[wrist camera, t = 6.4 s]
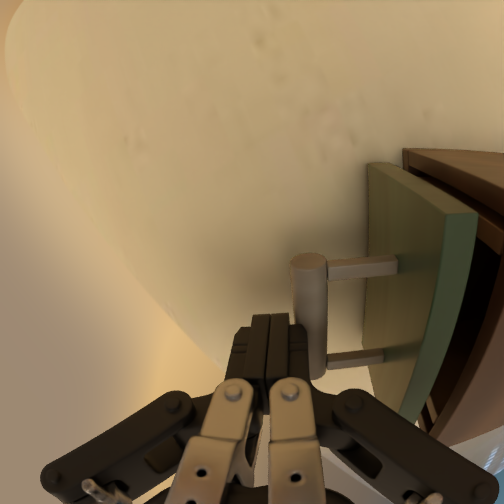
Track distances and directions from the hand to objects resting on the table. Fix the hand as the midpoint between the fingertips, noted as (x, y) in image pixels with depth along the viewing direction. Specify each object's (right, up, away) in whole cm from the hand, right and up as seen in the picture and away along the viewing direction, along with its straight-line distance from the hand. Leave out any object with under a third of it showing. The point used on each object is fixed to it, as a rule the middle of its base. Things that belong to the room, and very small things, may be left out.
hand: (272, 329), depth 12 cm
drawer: (+10, +3, +2) cm, 11 cm away
